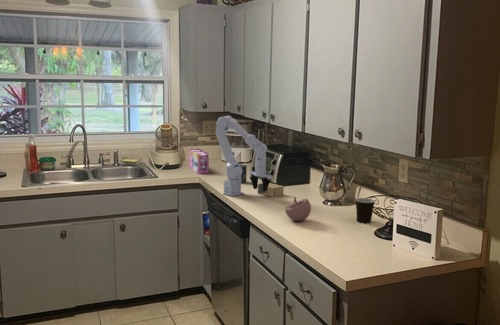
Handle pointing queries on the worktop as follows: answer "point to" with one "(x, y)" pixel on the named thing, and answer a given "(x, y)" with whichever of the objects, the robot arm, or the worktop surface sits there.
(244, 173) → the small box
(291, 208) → the mortar and pestle
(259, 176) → the robot arm
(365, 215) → the coffee mug
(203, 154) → the gum box
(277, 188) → the carton
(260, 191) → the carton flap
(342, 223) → the worktop surface
